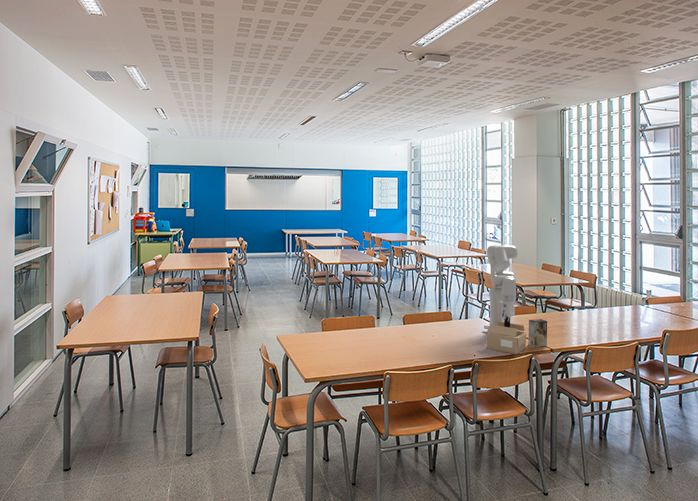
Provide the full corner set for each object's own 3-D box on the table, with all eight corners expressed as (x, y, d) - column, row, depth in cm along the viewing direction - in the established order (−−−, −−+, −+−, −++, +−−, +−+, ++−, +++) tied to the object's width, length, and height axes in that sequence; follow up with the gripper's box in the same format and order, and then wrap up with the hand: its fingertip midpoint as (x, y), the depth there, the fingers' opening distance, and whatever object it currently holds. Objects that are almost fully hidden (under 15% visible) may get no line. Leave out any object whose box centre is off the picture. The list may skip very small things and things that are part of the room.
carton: (486, 348, 304) (486, 332, 303) (496, 342, 317) (496, 327, 316) (517, 354, 293) (517, 337, 292) (526, 348, 305) (526, 332, 304)
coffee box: (540, 343, 315) (541, 318, 314) (546, 346, 309) (547, 321, 307) (527, 344, 313) (528, 319, 311) (534, 347, 307) (535, 322, 305)
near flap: (517, 329, 294) (517, 328, 294) (515, 336, 292) (515, 336, 292) (490, 324, 304) (490, 324, 304) (488, 332, 302) (488, 332, 302)
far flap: (497, 321, 312) (497, 321, 312) (498, 327, 315) (498, 326, 315) (523, 325, 302) (523, 325, 302) (524, 331, 305) (524, 330, 305)
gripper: (509, 300, 294) (508, 331, 295) (518, 296, 305) (517, 326, 307) (497, 299, 298) (496, 329, 300) (506, 295, 310) (505, 324, 312)
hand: (507, 327), depth 304 cm, fingers closed
